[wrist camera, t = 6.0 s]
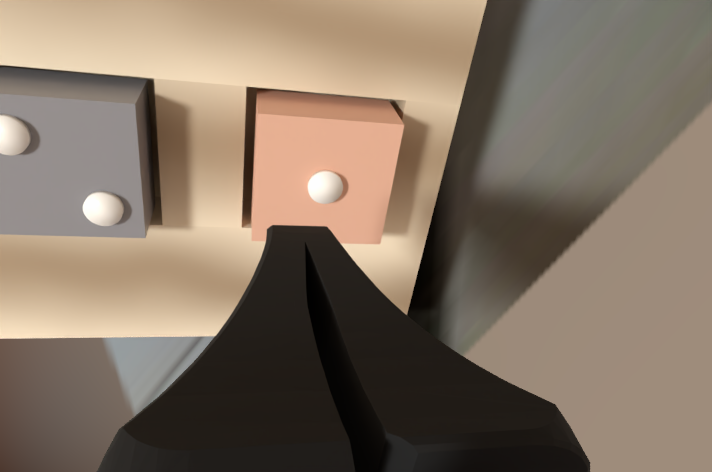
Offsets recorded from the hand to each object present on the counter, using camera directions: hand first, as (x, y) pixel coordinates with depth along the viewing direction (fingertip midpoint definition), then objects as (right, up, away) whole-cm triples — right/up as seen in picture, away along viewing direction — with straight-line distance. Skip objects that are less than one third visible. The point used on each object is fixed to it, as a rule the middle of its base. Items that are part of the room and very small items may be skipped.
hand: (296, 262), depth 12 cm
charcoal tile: (-7, +3, +3) cm, 8 cm away
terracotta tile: (0, +3, +5) cm, 6 cm away
